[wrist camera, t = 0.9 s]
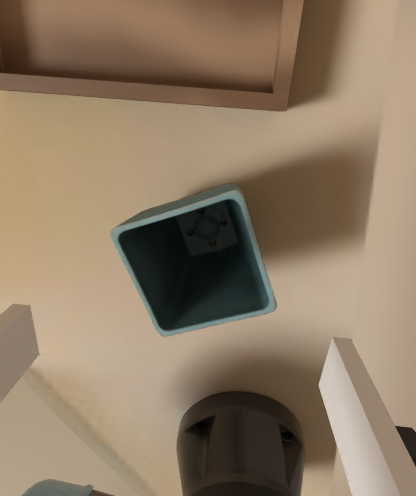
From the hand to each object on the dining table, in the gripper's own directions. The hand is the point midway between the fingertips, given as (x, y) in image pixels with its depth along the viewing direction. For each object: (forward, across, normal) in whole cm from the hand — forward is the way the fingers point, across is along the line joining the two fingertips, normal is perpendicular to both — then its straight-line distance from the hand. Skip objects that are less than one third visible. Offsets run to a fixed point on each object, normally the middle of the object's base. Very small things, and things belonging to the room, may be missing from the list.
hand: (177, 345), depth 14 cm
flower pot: (+16, 0, 0) cm, 16 cm away
